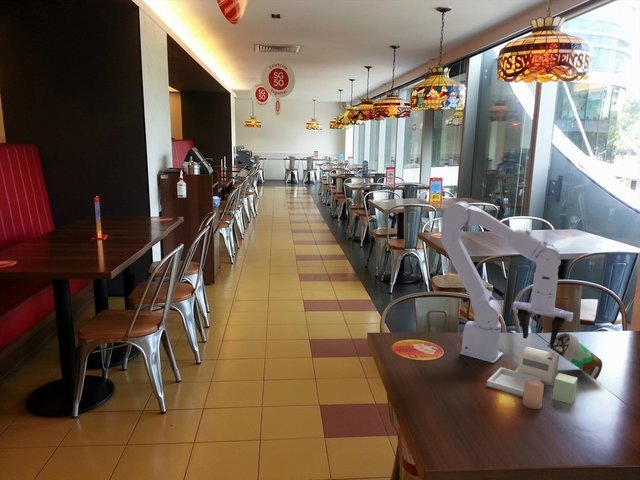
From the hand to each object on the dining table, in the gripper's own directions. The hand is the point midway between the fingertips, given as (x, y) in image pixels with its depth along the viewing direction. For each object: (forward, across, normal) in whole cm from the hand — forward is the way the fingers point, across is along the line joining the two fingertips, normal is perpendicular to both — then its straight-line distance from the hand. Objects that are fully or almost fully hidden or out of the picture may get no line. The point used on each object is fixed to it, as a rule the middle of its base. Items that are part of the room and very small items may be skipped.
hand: (538, 340), depth 131 cm
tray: (+7, -1, -16) cm, 17 cm away
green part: (+7, +10, -15) cm, 19 cm away
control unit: (+7, +2, -7) cm, 10 cm away
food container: (+4, +14, +2) cm, 14 cm away
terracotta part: (+7, +5, -23) cm, 25 cm away
